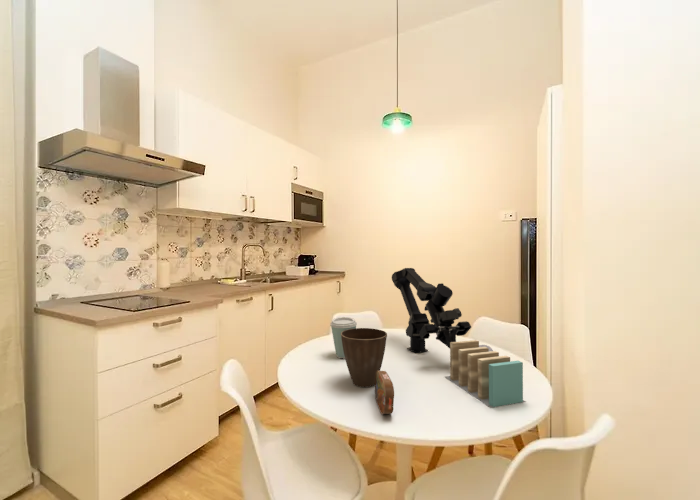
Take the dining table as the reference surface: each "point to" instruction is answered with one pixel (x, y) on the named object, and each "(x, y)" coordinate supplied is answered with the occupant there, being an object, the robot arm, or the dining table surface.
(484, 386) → the domino
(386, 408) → the tin
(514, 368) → the domino
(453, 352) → the domino
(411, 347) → the robot arm
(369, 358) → the plant pot
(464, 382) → the domino
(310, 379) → the dining table surface
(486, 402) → the mat
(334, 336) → the disposable coffee cup
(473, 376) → the domino
